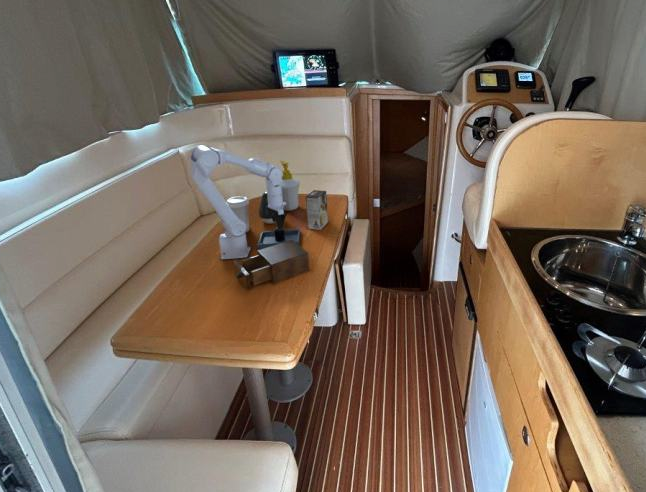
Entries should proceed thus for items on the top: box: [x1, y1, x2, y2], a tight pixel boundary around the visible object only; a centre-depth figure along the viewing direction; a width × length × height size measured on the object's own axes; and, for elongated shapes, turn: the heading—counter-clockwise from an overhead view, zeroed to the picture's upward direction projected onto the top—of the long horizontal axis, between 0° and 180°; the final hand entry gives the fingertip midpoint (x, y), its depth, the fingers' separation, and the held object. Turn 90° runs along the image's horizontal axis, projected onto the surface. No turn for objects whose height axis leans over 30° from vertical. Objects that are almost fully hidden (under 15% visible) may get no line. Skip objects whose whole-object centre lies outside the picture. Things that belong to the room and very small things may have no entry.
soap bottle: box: [279, 160, 301, 212], centre depth 183 cm, size 13×13×25 cm
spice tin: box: [273, 226, 285, 242], centre depth 153 cm, size 4×4×5 cm
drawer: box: [233, 254, 273, 291], centre depth 125 cm, size 14×11×6 cm
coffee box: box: [305, 189, 329, 231], centre depth 166 cm, size 9×6×16 cm
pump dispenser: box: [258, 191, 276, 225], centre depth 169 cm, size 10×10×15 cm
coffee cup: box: [226, 195, 250, 233], centre depth 159 cm, size 10×10×15 cm
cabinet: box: [257, 240, 310, 285], centre depth 131 cm, size 14×13×8 cm
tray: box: [257, 228, 301, 250], centre depth 153 cm, size 16×12×2 cm
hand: (278, 224), depth 151 cm, fingers open, 7 cm apart
